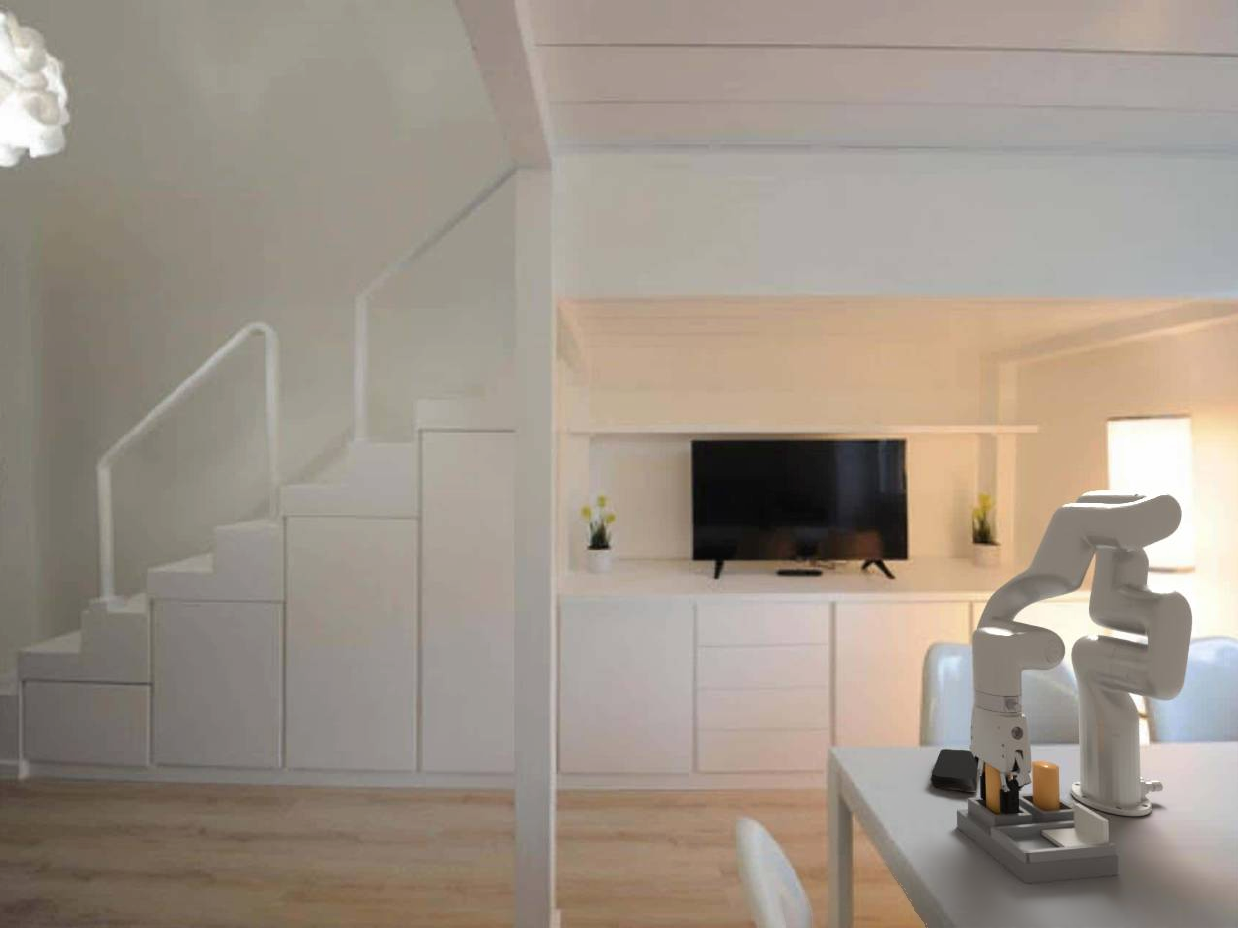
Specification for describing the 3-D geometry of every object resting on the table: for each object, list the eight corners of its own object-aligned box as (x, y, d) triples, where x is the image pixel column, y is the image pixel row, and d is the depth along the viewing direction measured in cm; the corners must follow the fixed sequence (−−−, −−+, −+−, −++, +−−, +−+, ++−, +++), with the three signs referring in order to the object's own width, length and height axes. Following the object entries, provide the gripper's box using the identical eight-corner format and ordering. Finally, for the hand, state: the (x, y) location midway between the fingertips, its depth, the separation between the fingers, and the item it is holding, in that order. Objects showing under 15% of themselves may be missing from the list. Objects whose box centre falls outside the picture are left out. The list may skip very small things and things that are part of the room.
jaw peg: (1002, 809, 119) (1000, 758, 120) (1018, 820, 115) (1016, 767, 116) (981, 810, 119) (980, 759, 119) (996, 822, 115) (995, 769, 115)
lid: (1079, 831, 113) (1079, 803, 113) (1109, 850, 107) (1108, 820, 107) (1041, 834, 112) (1041, 806, 112) (1069, 853, 106) (1068, 823, 106)
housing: (1045, 819, 123) (1044, 753, 123) (1126, 873, 106) (1125, 797, 107) (957, 826, 121) (955, 759, 121) (1025, 883, 104) (1024, 805, 104)
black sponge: (976, 799, 131) (976, 780, 132) (929, 789, 136) (929, 771, 136) (983, 769, 145) (983, 752, 145) (940, 760, 150) (940, 744, 150)
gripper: (1053, 716, 110) (1056, 828, 109) (984, 684, 126) (986, 782, 126) (1011, 718, 109) (1014, 832, 108) (947, 686, 125) (949, 784, 125)
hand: (999, 804), depth 117 cm, fingers open, 4 cm apart
